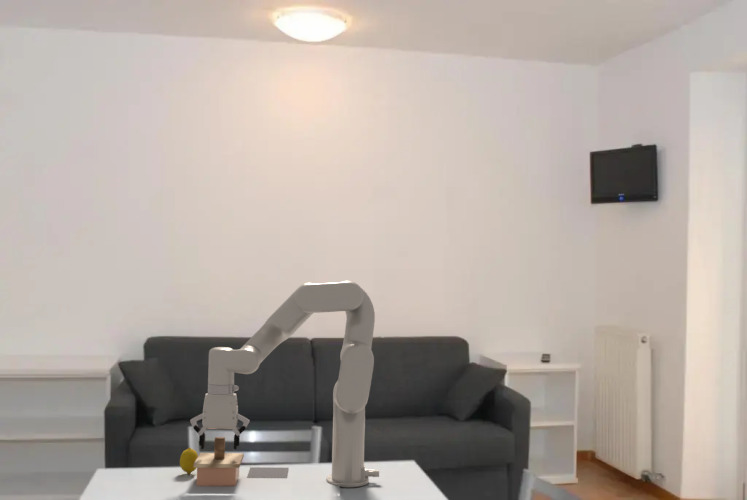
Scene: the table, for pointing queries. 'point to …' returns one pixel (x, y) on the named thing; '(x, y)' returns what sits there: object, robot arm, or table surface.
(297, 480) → the table surface
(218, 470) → the pink open box
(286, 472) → the mat
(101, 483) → the table surface
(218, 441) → the lid
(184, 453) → the lemon
